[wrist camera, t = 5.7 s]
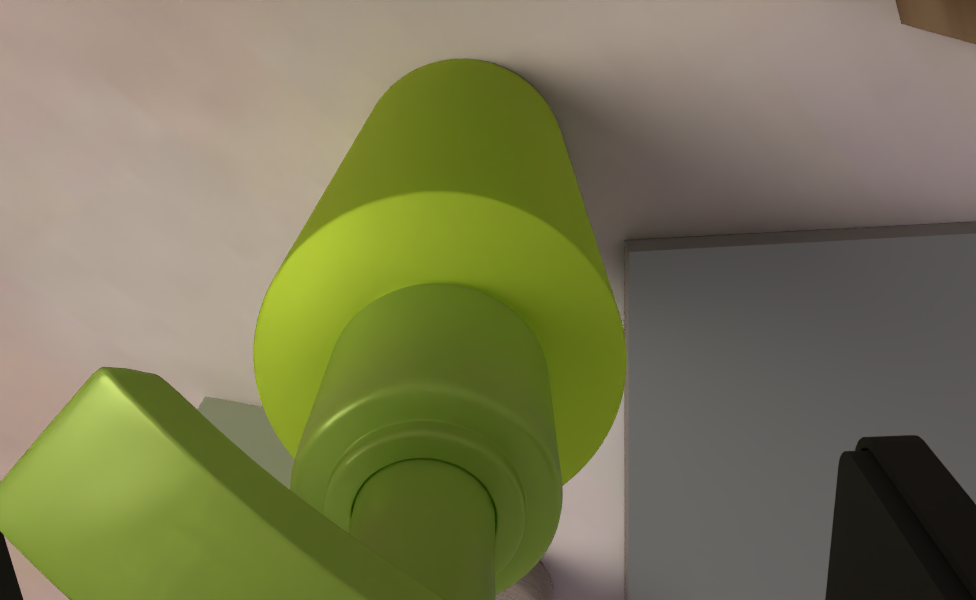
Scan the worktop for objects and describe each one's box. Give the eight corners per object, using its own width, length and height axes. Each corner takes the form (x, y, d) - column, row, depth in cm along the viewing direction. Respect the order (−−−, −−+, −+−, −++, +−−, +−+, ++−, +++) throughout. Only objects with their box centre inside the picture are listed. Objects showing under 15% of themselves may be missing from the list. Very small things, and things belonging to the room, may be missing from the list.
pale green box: (205, 396, 30) (139, 508, 24) (328, 418, 30) (292, 533, 24) (195, 498, 31) (130, 625, 26) (312, 519, 31) (275, 648, 26)
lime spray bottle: (426, -15, 25) (238, 203, 6) (607, 157, 26) (876, 722, 8) (290, 143, 26) (-175, 686, 8) (469, 296, 28) (431, 1025, 10)
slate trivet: (624, 240, 27) (629, 251, 27) (1102, 214, 27) (1123, 225, 26) (624, 611, 33) (628, 632, 32) (1022, 594, 33) (1037, 614, 32)
